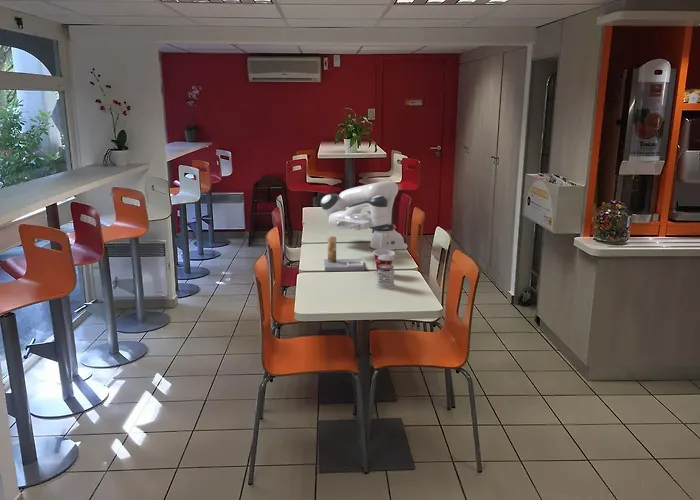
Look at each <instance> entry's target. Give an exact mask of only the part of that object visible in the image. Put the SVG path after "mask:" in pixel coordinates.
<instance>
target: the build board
mask: <svg viewBox="0 0 700 500" xmlns="http://www.w3.org/2000/svg"><path fill="white" fill-rule="evenodd" d="M323 262H324V263H323V265H324V272H355V271H356V272H360V271H365V266H364V261H363V260H362V258H346V259H344V258H336V262H333V263H331V262H328V258H325V259H324V260H323Z"/></svg>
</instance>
